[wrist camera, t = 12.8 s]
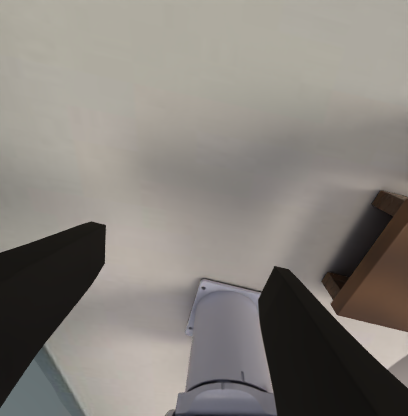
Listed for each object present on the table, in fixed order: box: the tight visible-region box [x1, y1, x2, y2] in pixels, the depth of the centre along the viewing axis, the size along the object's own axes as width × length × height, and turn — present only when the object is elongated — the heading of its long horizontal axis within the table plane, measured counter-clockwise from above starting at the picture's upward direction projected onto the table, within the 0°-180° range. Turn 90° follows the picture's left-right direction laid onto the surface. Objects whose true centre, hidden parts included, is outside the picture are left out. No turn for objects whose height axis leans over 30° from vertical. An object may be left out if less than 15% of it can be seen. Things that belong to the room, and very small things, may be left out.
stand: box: [322, 191, 408, 332], centre depth 17 cm, size 11×8×4 cm
